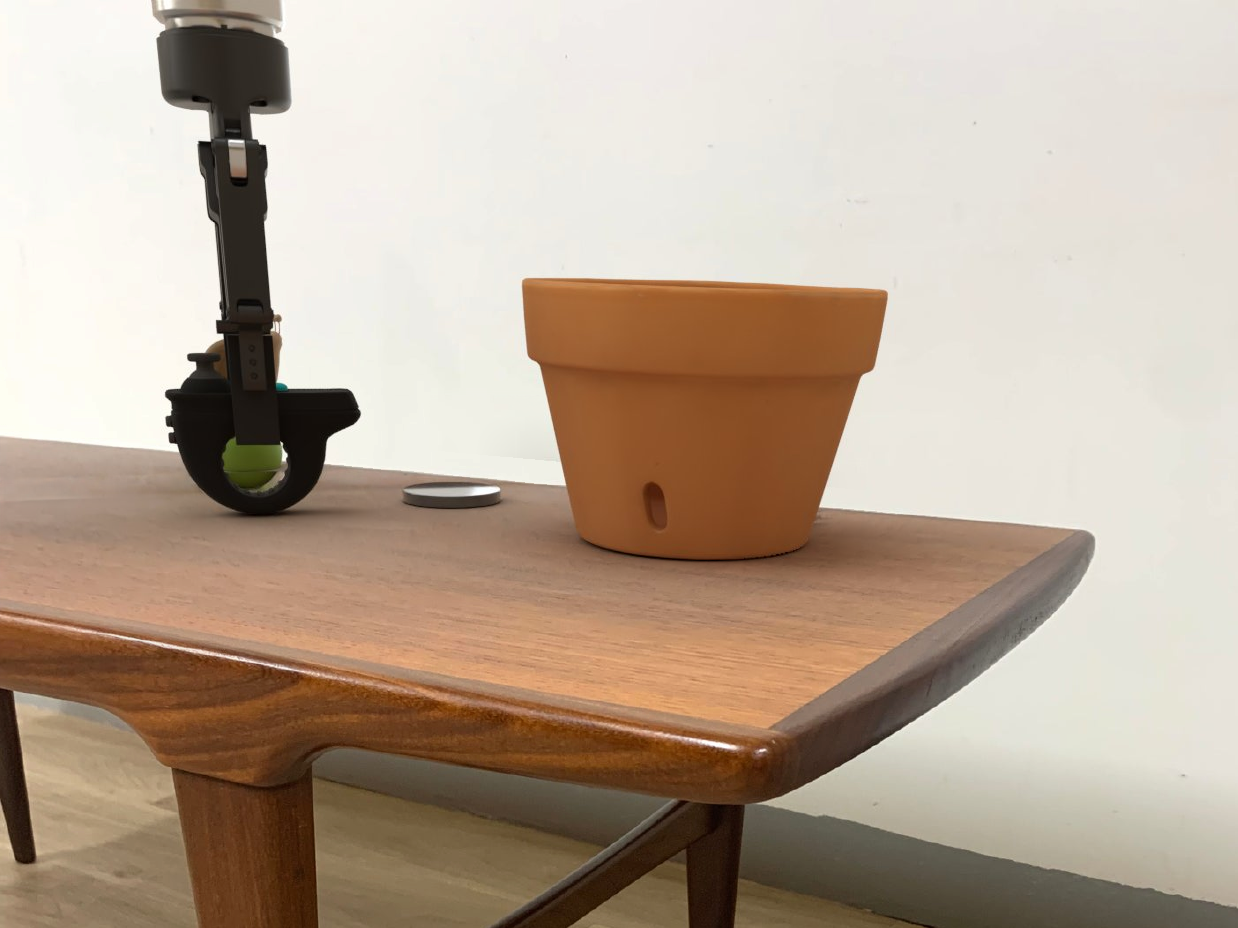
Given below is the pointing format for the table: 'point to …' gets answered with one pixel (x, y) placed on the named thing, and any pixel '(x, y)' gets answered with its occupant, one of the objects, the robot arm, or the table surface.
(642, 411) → the flower pot
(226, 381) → the controller
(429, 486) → the slate coaster
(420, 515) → the table surface
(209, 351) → the snail figurine
